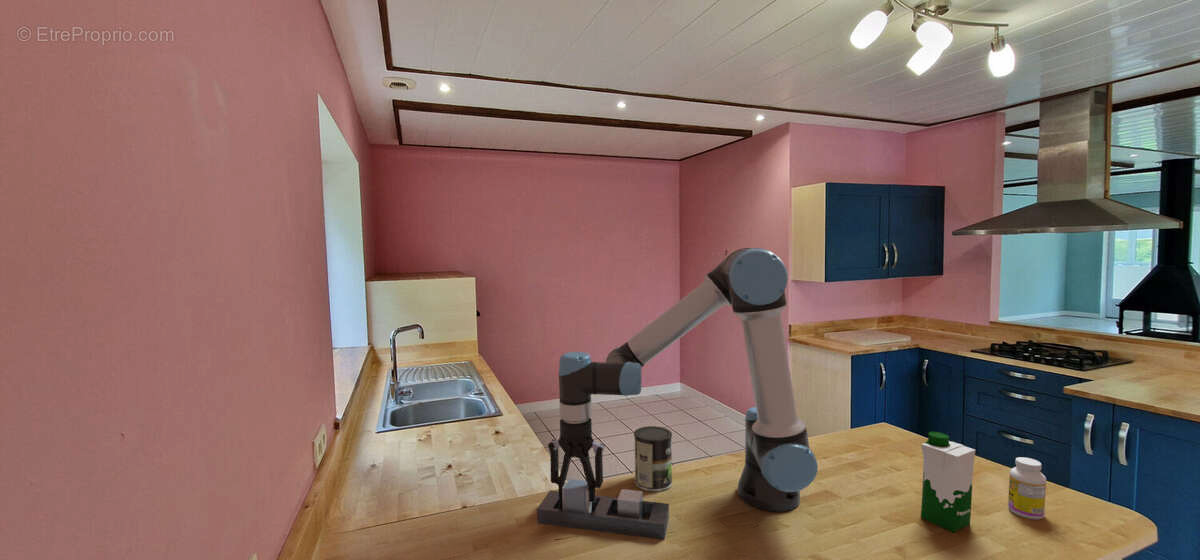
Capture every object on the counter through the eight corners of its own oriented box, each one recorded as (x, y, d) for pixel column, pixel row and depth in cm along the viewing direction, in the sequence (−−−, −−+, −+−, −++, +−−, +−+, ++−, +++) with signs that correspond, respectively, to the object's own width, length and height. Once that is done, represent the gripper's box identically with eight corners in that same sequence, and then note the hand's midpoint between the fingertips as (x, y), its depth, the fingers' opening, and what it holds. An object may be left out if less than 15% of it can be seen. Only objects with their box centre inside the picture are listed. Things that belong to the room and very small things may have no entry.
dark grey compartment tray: (668, 517, 118) (668, 503, 118) (664, 539, 110) (664, 524, 109) (550, 503, 126) (549, 490, 125) (537, 523, 117) (537, 508, 117)
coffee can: (673, 475, 140) (672, 426, 139) (670, 493, 130) (670, 441, 129) (636, 472, 142) (636, 424, 141) (631, 490, 132) (631, 438, 131)
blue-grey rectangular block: (590, 508, 121) (589, 481, 120) (584, 519, 116) (584, 491, 116) (570, 506, 122) (569, 479, 122) (564, 517, 117) (563, 489, 117)
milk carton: (935, 507, 121) (938, 428, 120) (977, 525, 113) (981, 441, 112) (914, 516, 117) (917, 434, 116) (956, 536, 109) (959, 449, 108)
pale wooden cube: (642, 519, 118) (642, 491, 117) (639, 531, 113) (639, 502, 112) (622, 517, 119) (621, 489, 118) (617, 528, 114) (617, 499, 114)
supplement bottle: (1009, 502, 123) (1012, 452, 122) (1045, 512, 118) (1048, 460, 117) (1005, 513, 118) (1008, 461, 117) (1043, 524, 114) (1046, 470, 113)
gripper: (616, 415, 119) (617, 508, 121) (545, 410, 123) (547, 500, 125) (609, 426, 111) (610, 525, 113) (534, 420, 116) (536, 516, 118)
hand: (577, 512), depth 119 cm, fingers closed on blue-grey rectangular block, 5 cm apart
